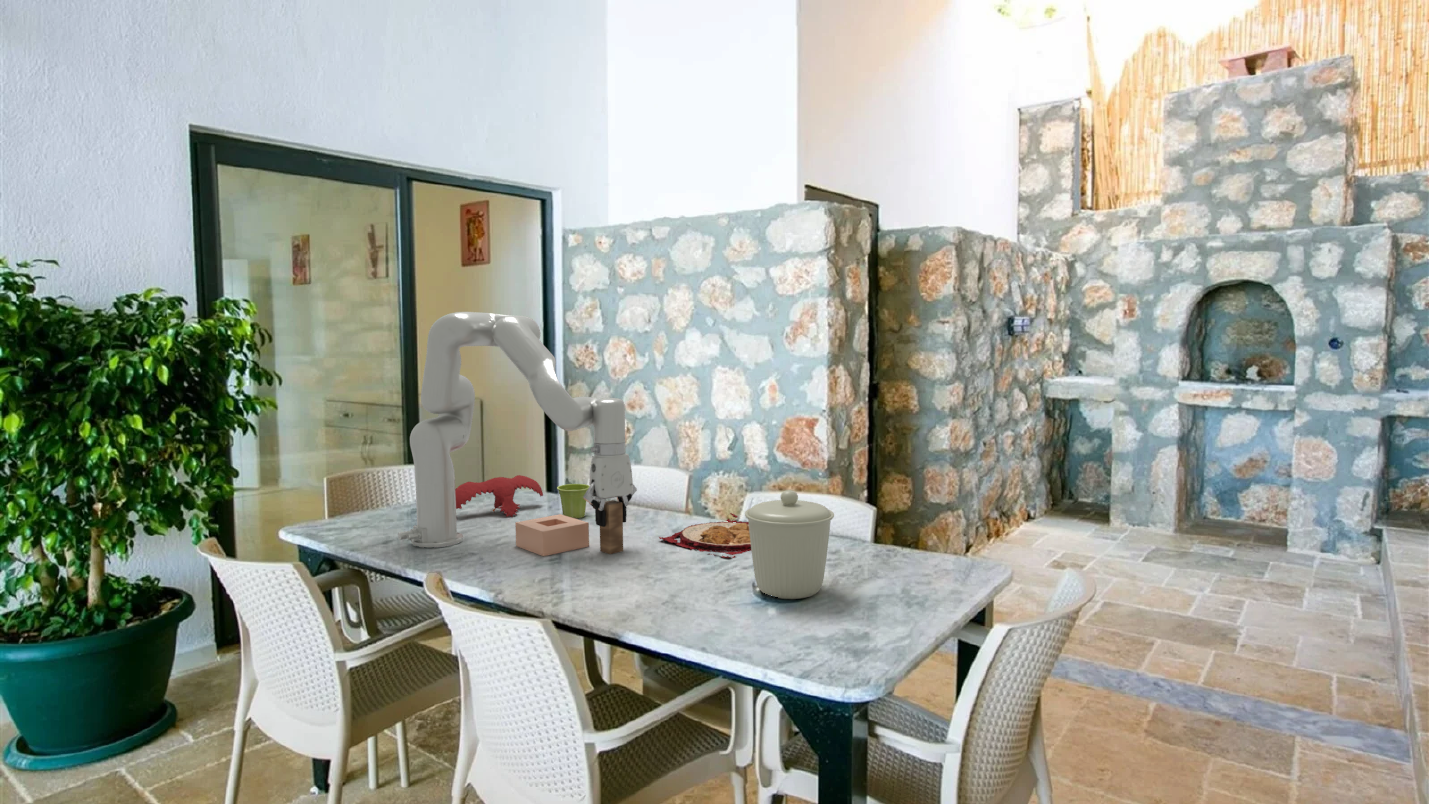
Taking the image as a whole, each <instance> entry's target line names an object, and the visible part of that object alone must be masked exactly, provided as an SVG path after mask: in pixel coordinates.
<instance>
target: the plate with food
mask: <svg viewBox="0 0 1429 804" xmlns="http://www.w3.org/2000/svg"><path fill="white" fill-rule="evenodd" d="M729 514H730V515H731V516H732V517H733V518H738V517H739V515H736V514H734V513H732V512H730V513H729ZM733 518H727V519H726V520H725V521H728V522H724V521H717V522H716V521H714V522H712V521H710V522H706V523H705V522H704V523H696V524H692V525H689V526H687V527H685V528H683V529H682V530H681V531H679V532H675V533H674V534H672V535H670V536H666V537H664V536H662V537H661V536H658V538H659V540H663V541H664V542H665V541H667V542H668V543H672V544H673V543H674V544H675V545H676V546H680V547H683V548H689V549H690V551H693V550H698V551H699V552H700V553H702V552H709V553H708V555H712V556H714V557H718V556H719V555H717V554H714V553H717V552H718V553H723V554H722V556H720V557H721V558H724V559H729V558H731V559H735V558H736V555H740V554H744V553H747V552H752V551H751V541H750V533H749V523H748V521H741V520H740V521H737V520H736V519H733ZM731 519H733V520H731ZM733 522H736V523H733ZM677 537H679V542H678V539H677ZM711 552H713V554H712V553H711ZM724 554H727V556H726V555H724Z"/></svg>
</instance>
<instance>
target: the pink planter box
mask: <svg viewBox="0 0 1429 804" xmlns="http://www.w3.org/2000/svg"><path fill="white" fill-rule="evenodd" d="M589 528H590V524H589V522H588V521H584V520H581V519H579V518H571V517H568V516H565V515H563V514H561V513H560V514H555V515H549V516H543V517H537V518H532V519H527V520H526V519H525V520H522V521H517V522H515V546H516V547H517V548H520V549H523V550H526V551H528V552H531V553H534V554H536V555H539V556H542V557H546V556H551V555H556V554H560V553H565V552H571V551H573V550H579V549H583V548H588V547H590V529H589Z"/></svg>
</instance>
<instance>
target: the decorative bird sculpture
mask: <svg viewBox="0 0 1429 804" xmlns="http://www.w3.org/2000/svg"><path fill="white" fill-rule="evenodd" d="M522 488H523V489H524V490H525V489H526V488H528V489H529V490H533V492H535V493H537V495H538V494H539V497H543V496H544V492H543V489H542V487H541V485H540V484H539V483H538V482H537V480H534V479H533V478H531V477H528V476H526V475H520V474H519V475H515V476H514V477H511V478H510V477H504V476H499V477H493V478H490V479H487V480H484V481H481V482H475V481H474V482H473V481H467V482H463V483H462V484H460V485H459V486H457V487H455V495H456V510H457V509H459V510H461V509H463V507H462V505H467V501H468V502H471V501H472V498H476V497H477V495H479V496H482V494H484V495H486V494H487V493H488V494H492V495H493V496H494V503H493V507H494V508H492V509H491V511H493V513H495V511H496V509H499V510H500V513H501V512H503V515H504V514H505V517H509V516H510V517H511V518H513V516H517V513H518V512H519V511H518V510H520V509H521V507H520V506H521V504H518V503H516V502H514V496H515V493H516V490H518V489H520V490H522Z"/></svg>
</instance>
